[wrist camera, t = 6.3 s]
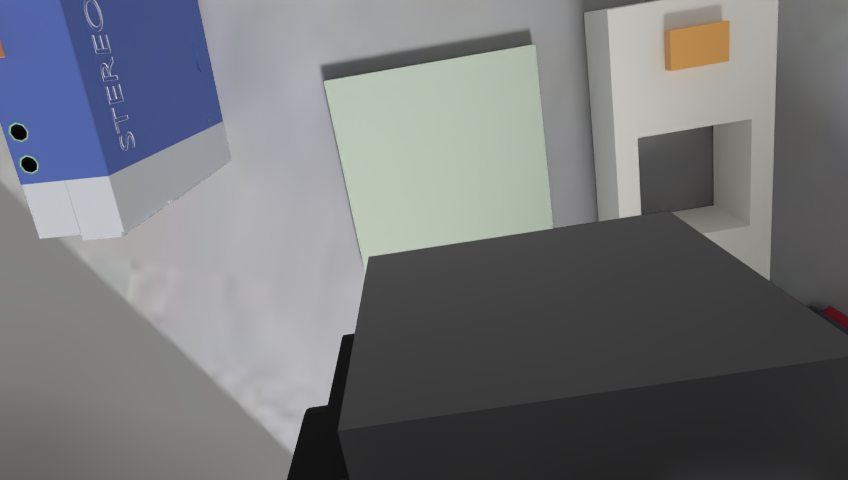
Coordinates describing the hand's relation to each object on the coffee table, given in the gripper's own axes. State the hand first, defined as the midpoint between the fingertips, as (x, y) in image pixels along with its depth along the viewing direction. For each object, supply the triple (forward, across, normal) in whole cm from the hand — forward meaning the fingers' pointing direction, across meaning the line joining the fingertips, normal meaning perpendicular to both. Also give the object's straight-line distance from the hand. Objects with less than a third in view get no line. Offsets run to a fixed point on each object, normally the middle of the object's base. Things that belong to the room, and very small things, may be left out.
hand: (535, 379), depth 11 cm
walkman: (+20, +12, -6) cm, 24 cm away
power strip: (+20, -10, +4) cm, 23 cm away
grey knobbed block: (+2, 0, 0) cm, 2 cm away
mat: (+20, +1, 0) cm, 20 cm away
